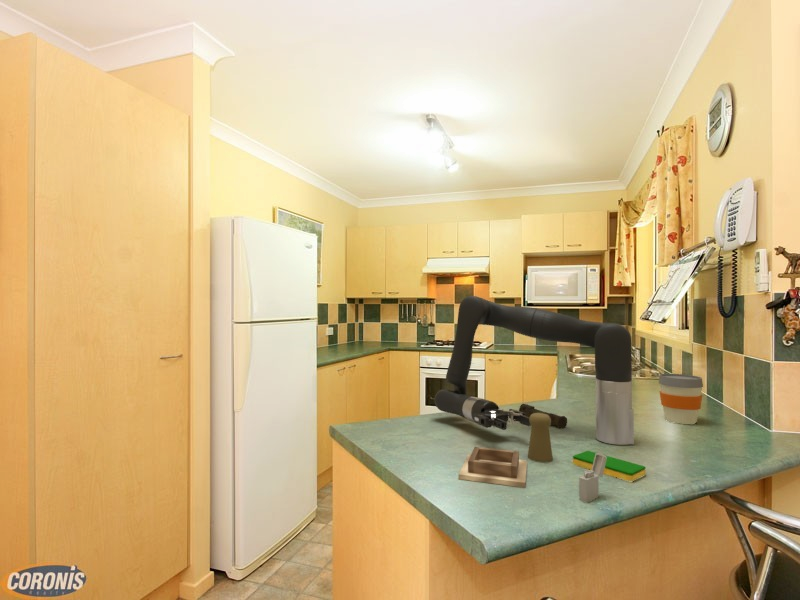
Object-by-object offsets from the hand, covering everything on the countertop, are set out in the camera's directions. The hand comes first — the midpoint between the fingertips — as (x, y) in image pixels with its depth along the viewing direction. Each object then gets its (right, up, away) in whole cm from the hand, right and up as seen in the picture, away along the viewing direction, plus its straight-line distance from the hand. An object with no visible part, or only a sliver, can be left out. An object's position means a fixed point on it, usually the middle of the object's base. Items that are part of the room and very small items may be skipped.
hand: (518, 424), depth 115 cm
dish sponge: (+17, -7, -15) cm, 23 cm away
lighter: (+7, -6, -29) cm, 31 cm away
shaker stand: (-10, -6, -17) cm, 20 cm away
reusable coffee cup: (+63, -8, +29) cm, 70 cm away
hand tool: (+15, -8, +28) cm, 32 cm away
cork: (+4, -7, -7) cm, 10 cm away
